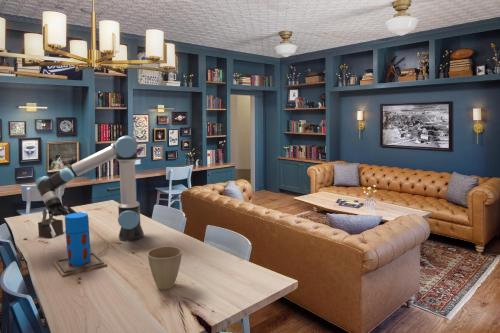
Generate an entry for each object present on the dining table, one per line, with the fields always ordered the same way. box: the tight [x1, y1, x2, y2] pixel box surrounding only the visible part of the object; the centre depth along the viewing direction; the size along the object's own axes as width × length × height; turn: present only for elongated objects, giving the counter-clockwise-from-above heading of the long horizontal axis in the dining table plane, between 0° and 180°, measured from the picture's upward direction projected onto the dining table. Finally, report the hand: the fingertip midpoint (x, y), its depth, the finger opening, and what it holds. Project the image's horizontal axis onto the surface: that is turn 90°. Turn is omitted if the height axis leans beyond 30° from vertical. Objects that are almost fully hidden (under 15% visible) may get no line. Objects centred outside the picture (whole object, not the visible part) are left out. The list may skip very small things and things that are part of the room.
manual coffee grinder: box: [37, 205, 67, 239], centre depth 242 cm, size 16×11×18 cm
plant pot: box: [147, 245, 182, 290], centre depth 166 cm, size 15×15×16 cm
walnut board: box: [52, 251, 108, 278], centre depth 192 cm, size 21×21×2 cm
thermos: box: [64, 212, 92, 267], centre depth 190 cm, size 11×11×25 cm
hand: (67, 233), depth 197 cm, fingers open, 13 cm apart
